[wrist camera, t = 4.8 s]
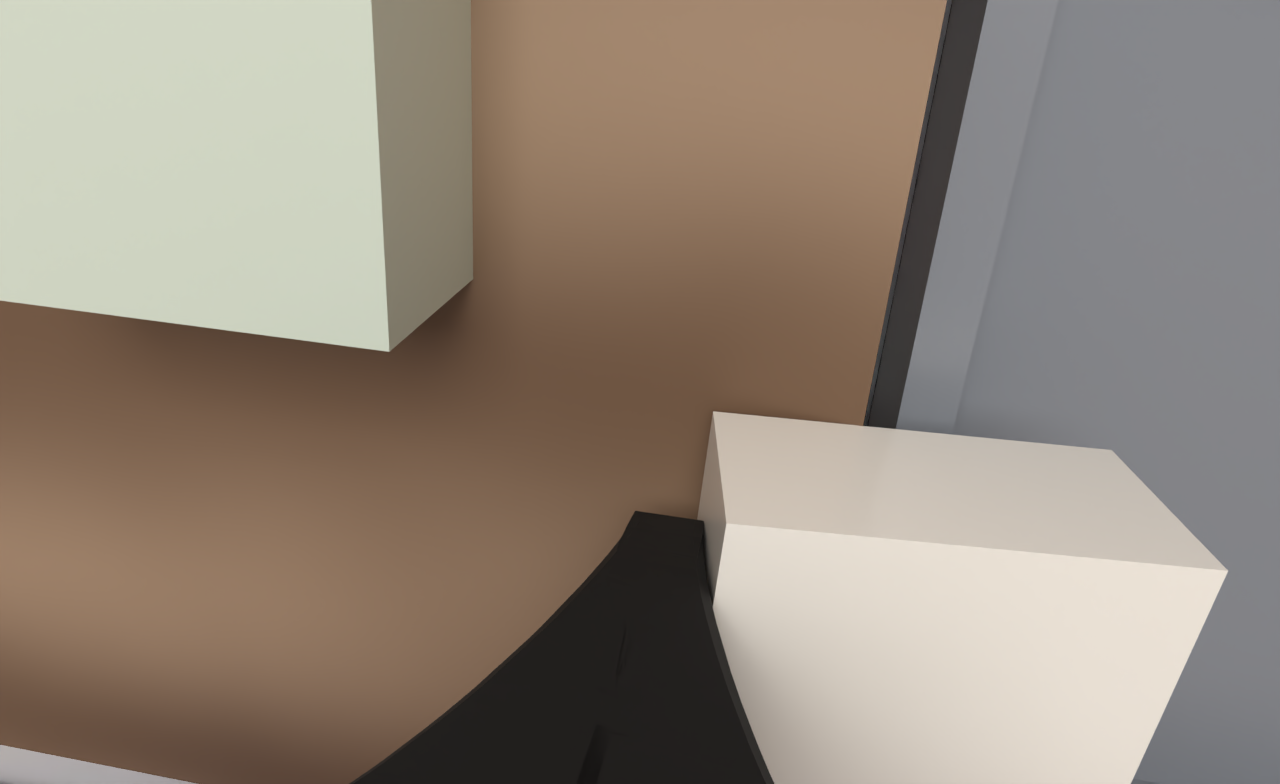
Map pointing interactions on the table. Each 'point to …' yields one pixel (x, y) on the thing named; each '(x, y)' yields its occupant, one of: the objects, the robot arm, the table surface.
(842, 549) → the cream tile
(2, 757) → the table surface
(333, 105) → the sage tile
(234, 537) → the walnut board
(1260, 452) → the tray
